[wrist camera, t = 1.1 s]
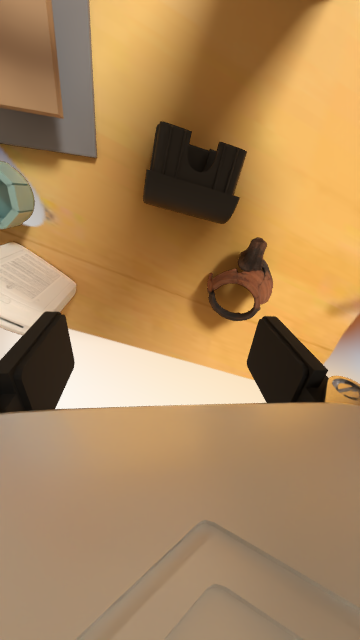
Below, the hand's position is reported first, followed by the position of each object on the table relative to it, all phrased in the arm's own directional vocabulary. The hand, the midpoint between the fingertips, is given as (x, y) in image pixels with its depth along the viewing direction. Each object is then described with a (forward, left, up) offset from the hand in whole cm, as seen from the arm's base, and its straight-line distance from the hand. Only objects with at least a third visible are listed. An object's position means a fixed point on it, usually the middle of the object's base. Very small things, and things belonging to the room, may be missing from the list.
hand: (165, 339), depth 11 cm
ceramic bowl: (-4, -19, -24) cm, 31 cm away
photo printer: (+6, -16, -24) cm, 29 cm away
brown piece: (+3, +13, -24) cm, 27 cm away
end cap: (-8, +3, -24) cm, 26 cm away
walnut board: (-16, -14, -21) cm, 29 cm away
